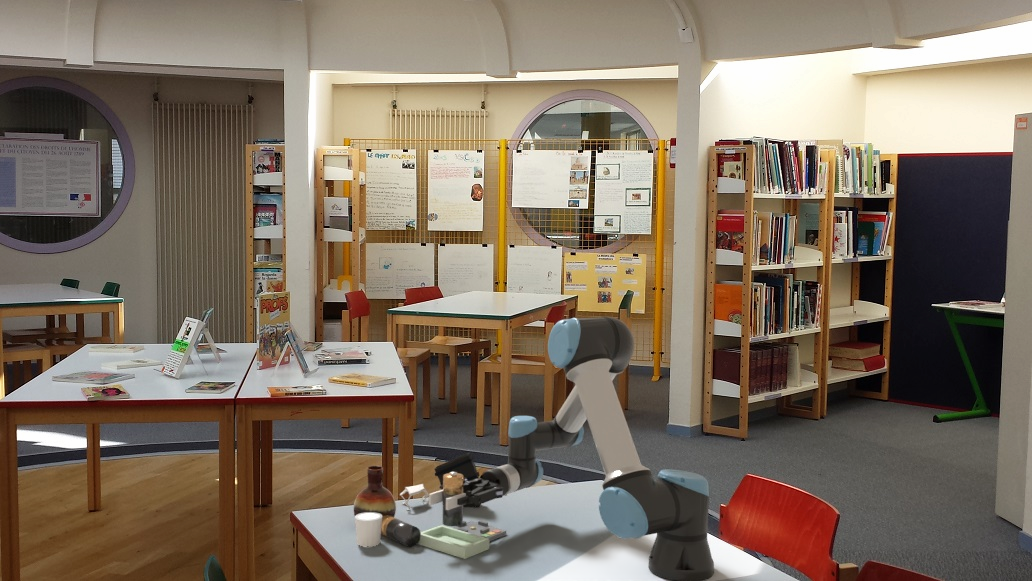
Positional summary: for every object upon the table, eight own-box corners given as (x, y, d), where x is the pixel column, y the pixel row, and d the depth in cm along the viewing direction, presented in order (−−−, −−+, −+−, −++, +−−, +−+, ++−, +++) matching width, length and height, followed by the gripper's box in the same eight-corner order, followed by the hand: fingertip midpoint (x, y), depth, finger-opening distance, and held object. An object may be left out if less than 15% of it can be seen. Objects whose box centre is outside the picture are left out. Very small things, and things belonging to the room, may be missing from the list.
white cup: (366, 550, 227) (366, 522, 227) (348, 543, 232) (349, 515, 231) (388, 543, 232) (388, 516, 232) (370, 536, 237) (370, 509, 236)
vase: (358, 517, 252) (358, 461, 251) (398, 518, 251) (399, 462, 250) (349, 531, 241) (349, 472, 240) (391, 532, 240) (392, 473, 239)
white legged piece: (400, 499, 269) (400, 482, 269) (429, 500, 269) (429, 483, 269) (395, 512, 257) (395, 495, 257) (425, 512, 257) (426, 495, 257)
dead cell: (420, 544, 232) (420, 525, 231) (404, 549, 228) (404, 529, 228) (391, 531, 241) (391, 512, 241) (375, 535, 238) (375, 516, 237)
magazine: (490, 503, 261) (468, 454, 261) (449, 520, 263) (427, 472, 263) (492, 499, 265) (471, 451, 265) (451, 516, 267) (430, 469, 267)
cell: (466, 523, 230) (467, 473, 229) (450, 527, 227) (451, 476, 226) (454, 518, 234) (455, 468, 233) (438, 522, 231) (439, 472, 230)
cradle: (506, 534, 240) (506, 527, 240) (483, 543, 233) (483, 536, 233) (471, 524, 248) (471, 517, 248) (448, 532, 241) (448, 526, 241)
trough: (489, 549, 229) (489, 538, 229) (464, 558, 222) (465, 548, 222) (441, 534, 239) (441, 524, 239) (416, 543, 232) (417, 533, 232)
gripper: (525, 503, 239) (465, 525, 221) (472, 489, 250) (411, 509, 232) (526, 474, 238) (466, 494, 220) (473, 461, 249) (412, 479, 231)
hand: (438, 501), depth 226 cm, fingers closed on cell, 5 cm apart
